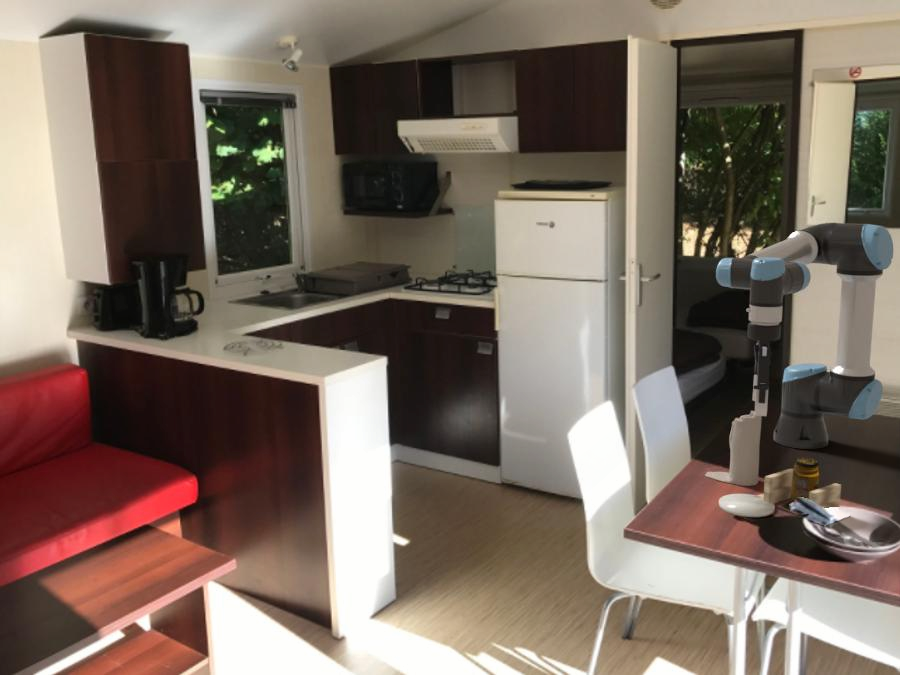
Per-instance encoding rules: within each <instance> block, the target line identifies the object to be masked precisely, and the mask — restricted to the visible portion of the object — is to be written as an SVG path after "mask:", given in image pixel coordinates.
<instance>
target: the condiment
mask: <svg viewBox="0 0 900 675" xmlns="http://www.w3.org/2000/svg"><path fill="white" fill-rule="evenodd" d="M793 469H794V470H793V473H792V487H791V498H790V501H789V502H785V503H783V504H779V505H777V508H780V509H782V510H785V511H787V512H789V513H792V514H795V515H797V514H796V513H795V512H792V511H790V509H789V504H790V503H792V502H794V501H795V499H796V498H797V497H804V498H808V499H809V492H810V491H813V490H816V489H819V484H820V473H819V462H818V461H817V460H816V459H813V458H810V457H798V458H796V459H795V460H794V466H793Z"/></svg>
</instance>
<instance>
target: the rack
mask: <svg viewBox="0 0 900 675" xmlns="http://www.w3.org/2000/svg"><path fill="white" fill-rule="evenodd" d="M793 470H794V468H788V469H783V470H782V471H778V472H776V473H775V472H774V473H771V474H769V475H765V476H764V482H763V484H764V485H763V493H760V494H757V495H756V496H757V497H759V499H762V500H764V501H767V502H773V503H774V504H777V503H780V502H782V501H785V500H788V499H791V487H792V473H793ZM841 492H842V484H839V483H837V482H835V483H832V484H828V485H826V486H822V487H820V488H819V487H818V489H816V490H813V491H810V492H809V500H812V501H813V502H815V503H817V504H818V505H820V506H822V507H824V508H829V507H841V496H842V495H841V494H842V493H841ZM754 497H755V496H754ZM757 497H756V498H757ZM763 498H764V499H763Z"/></svg>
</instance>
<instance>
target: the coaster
mask: <svg viewBox="0 0 900 675" xmlns="http://www.w3.org/2000/svg"><path fill="white" fill-rule="evenodd" d="M754 496H755V497H754ZM756 497H757V495H756V494H749V493H731V494H726V495H723V496H721V497H720V498H719V499H718V507H719V508H720V509H721V510H722V511H724V512H726V513H728V514H731V515H734V516H738V517H744V518H762V517H763V518H764V517H767V516H770V515H772V514H773V513H775V510H776V509H775V508H776V506H775V503H773V502H767V501H764V500H762V499H759V497H757V498H756ZM763 499H764V498H763Z"/></svg>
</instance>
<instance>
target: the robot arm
mask: <svg viewBox="0 0 900 675" xmlns="http://www.w3.org/2000/svg"><path fill="white" fill-rule="evenodd" d="M893 256H894V242H893V239H892V236H891V234H890V231H889V230H888V229H887V228H886V227H885V226H883V225H877V224H871V223H847V222H845V223H843V222H842V223H841V222H839V223H838V222H825V223H819V224H815V225H811V226H808V227H806V228H805V227H804V228H803V229H799V230H797V231H794V232H792V233H791V234H789V236H787V238H786V239H785V240H782V241H780V242H777V243H774V244H772V245H769V246H767V247H765V248H762V249H760V250H758V251H755V252H753V253H750V254H747V255H746V256H742V257H739V258H736V257H725V258H721V260H720V261H718V264H717V265H716V270H715V278H716V281H717V283H718V284H719V285H720V286H721V287H726V288H727V287H728V288H730V289H739V290H741V289H742V290H749V307H748V308H746V310H745V311H746V312H747V313H748V321H749V323H747V338H748V339H751V340H753V341H756V344H754V346H753V352H754V366H753V370H754V371H753V373H754V375H753V384H752V386H753V389H752V401H753V402H754V411H755V416H762V417H767V414H768V400H769V388H770V365H771V362H772V358H771V357H772V353H773V347H772V345H770V342H771V341H773V342H774V341H775V342H776V341H778V340H780V339H781V334H782V333H781V332H782V325H781V322H782V321H783V320H782V319H783V299H784V296H785V295H790V294H796V293H799V292H801V291H804V290H805V289H806V288H807V287H808V286H809V284H810V283H811V278H812V276H811V275H812V274H811V271H810V269H809V268H808V266H807V265H809V264H821V265H830V266H836V272H835V273H836V275H838V277H839V278H840V279H841V287H840V288H841V289H840V290H841V291H840V304H839V305H840V306H839V315H838V316H839V319H838V334H837V346H836V362H835V364H833V365H832V366H831V367H830V369H829V371H828V366H827V365H826V364H823V363H813V362H812V363H798V364H797V363H796V364H793V365H789V366H787V367H786V368H784V371H783V378H782V390H781V393H782V395H781V407H780V409H781V410H780V416H779V419H778V421H777V422H776V425H775V428H774V430H773V437H772V438H773V441H774V442H775V443H777V444H778V445H782V446H785V447H788V448H794V449H803V450H816V449H822V448H825V447H827V446H828V445H829V434H828V431H827V426H826V423H825V419H824V413H826V414H831V415H837V416H841V417H846V418H849V419H857V420H867V419H869V418H871V417H872V416H873V415H874V413H875V412H876V411H877V409H878V407H879V405H880V403H881V399H882V396H883V382H882V381H880V380H879V379H876V370H874V368H873V367H871V365H870V364H871V353H872V342H873V341H872V339H873V328H874V326H873V324H874V312H875V299H876V298H875V297H876V288H877V286H876V285H877V284H876V283H877V281H878V280H879V279H880V278H881V277H882V276H883V273H884V270H887V269H889V268H890V266H891V264H892V259H894V258H893Z"/></svg>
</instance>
